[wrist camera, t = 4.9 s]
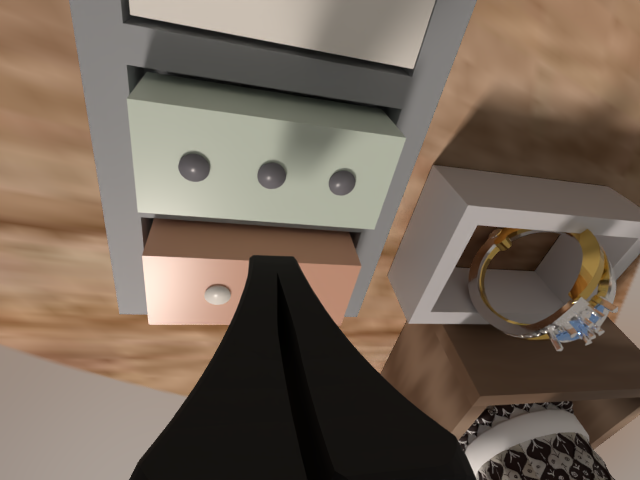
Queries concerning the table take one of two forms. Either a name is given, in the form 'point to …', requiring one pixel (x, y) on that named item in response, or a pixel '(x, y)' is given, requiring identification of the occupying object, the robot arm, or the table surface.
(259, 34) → the tile one cream
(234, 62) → the button board
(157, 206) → the tile three sage
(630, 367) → the box
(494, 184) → the bracelet dish
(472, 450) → the decorative candle
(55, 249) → the table surface
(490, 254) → the ring
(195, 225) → the tile two terracotta
